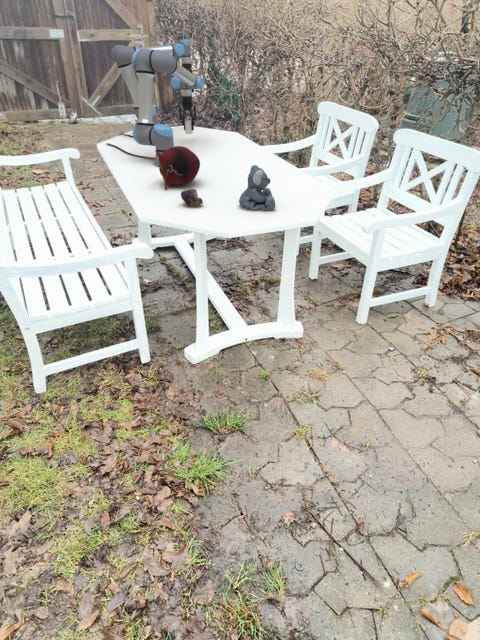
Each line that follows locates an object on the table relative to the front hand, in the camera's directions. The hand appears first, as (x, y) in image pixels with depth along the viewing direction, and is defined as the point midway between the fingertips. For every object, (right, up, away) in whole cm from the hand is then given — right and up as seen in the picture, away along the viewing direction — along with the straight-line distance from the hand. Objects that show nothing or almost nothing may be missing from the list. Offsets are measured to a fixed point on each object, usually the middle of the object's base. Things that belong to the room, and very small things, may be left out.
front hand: (188, 129), depth 335 cm
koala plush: (+47, -84, -106) cm, 143 cm away
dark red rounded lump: (+4, -63, -75) cm, 97 cm away
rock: (+13, -83, -104) cm, 134 cm away
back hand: (-3, +38, +22) cm, 44 cm away
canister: (0, -2, +1) cm, 2 cm away
